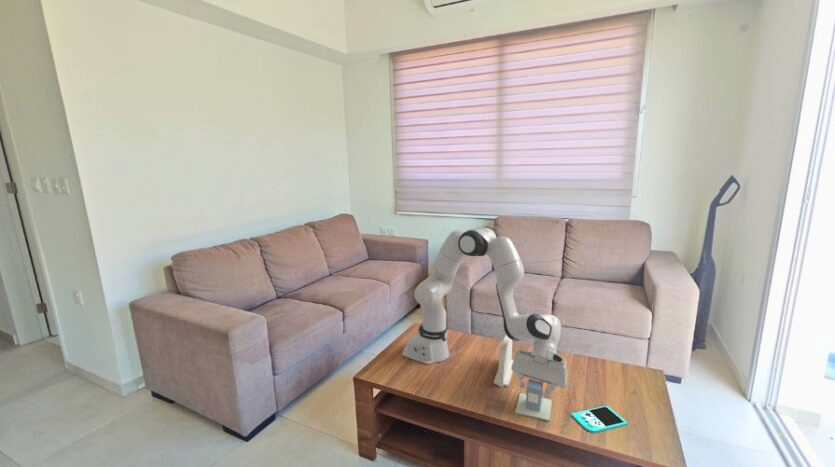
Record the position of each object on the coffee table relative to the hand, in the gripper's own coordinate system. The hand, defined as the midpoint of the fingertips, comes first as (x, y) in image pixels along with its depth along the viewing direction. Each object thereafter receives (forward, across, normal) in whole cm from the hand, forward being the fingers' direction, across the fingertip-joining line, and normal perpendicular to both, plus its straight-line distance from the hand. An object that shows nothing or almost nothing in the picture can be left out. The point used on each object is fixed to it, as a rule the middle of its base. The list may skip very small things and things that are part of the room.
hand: (534, 391), depth 140 cm
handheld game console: (+1, +22, +10) cm, 24 cm away
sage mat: (+4, 0, +5) cm, 7 cm away
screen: (-7, -17, +17) cm, 25 cm away
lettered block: (+4, 0, +5) cm, 6 cm away
